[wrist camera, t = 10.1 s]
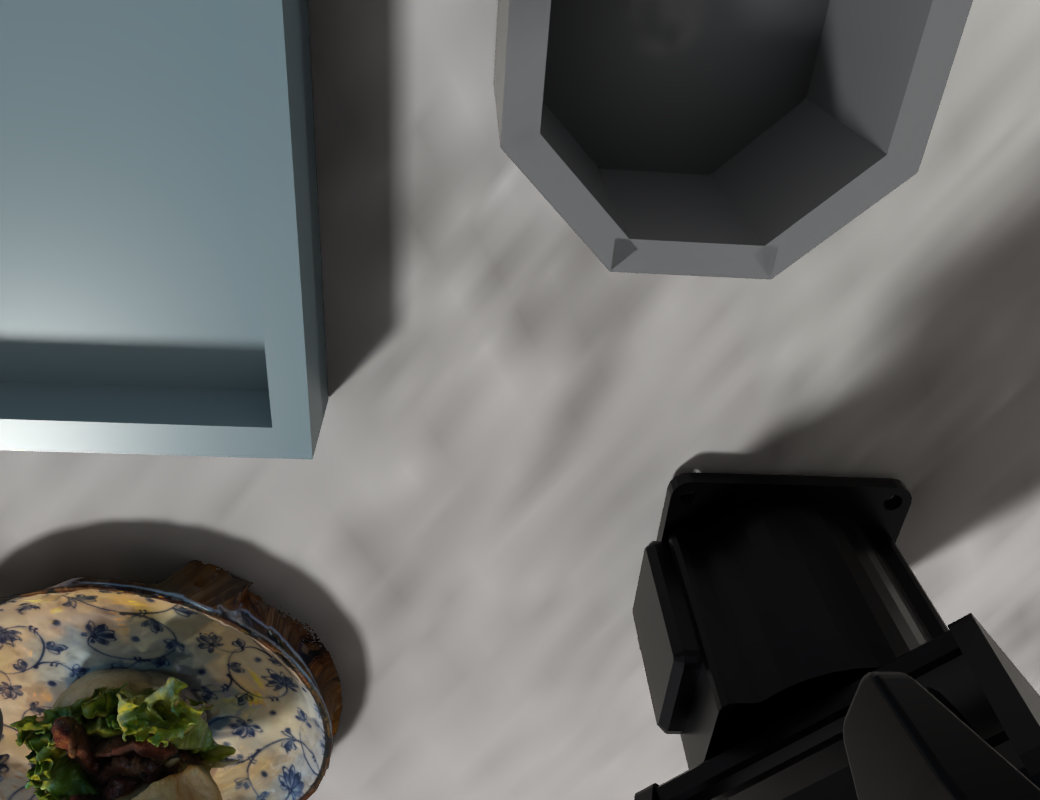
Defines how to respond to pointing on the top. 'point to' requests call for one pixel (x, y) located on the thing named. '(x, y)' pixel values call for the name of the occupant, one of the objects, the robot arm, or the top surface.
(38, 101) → the tray
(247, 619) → the burger
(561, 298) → the top surface
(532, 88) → the cup
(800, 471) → the top surface
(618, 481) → the top surface
